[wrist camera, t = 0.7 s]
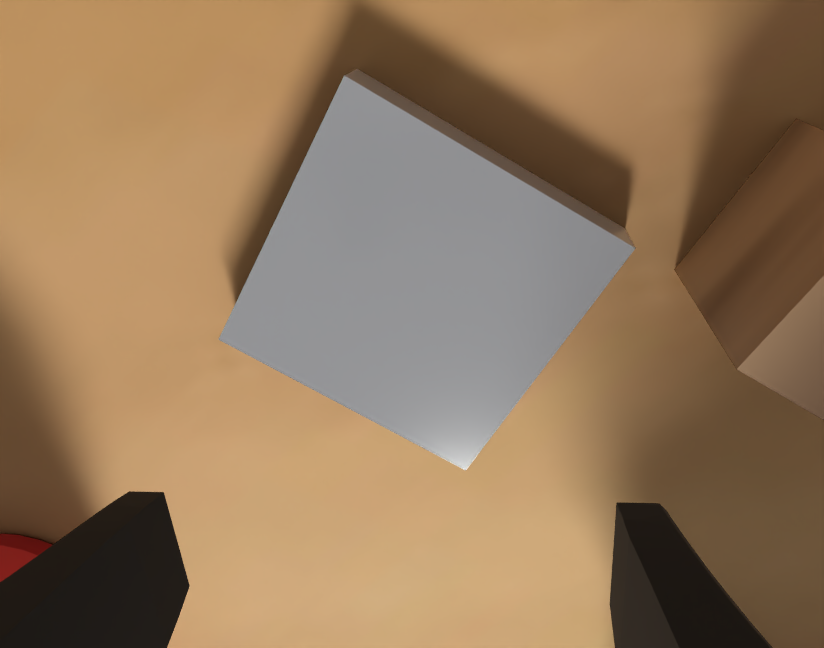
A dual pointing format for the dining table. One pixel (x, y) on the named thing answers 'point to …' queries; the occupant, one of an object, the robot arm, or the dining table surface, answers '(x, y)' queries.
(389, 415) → the slate slab
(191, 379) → the dining table surface
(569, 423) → the dining table surface
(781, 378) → the walnut block
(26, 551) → the canned food
